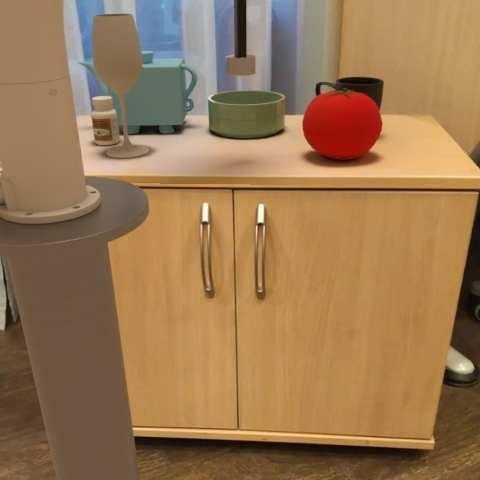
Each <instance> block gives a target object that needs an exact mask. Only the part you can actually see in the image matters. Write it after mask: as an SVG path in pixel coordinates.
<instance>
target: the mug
mask: <svg viewBox="0 0 480 480" xmlns="http://www.w3.org/2000/svg"><path fill="white" fill-rule="evenodd" d="M384 81H385V80H383V79H381V78H377V77H371V76H370V77H369V76H345V77H340V78H338V79H335V83H334V82H330V81H319V82H317V83H316V84H315V89H314V91H315V97H317V96H318V95H320V94H322V91H321V87H322V85H323V86H328V87H330V88H332V89H334V91H335V90H337V91H343V88H347V90H353V92H358V93H364V95H366V96H368V97H370V98H371V99H372V100H373V101H374V102H375V103H376V105H377V107H378V109H379V112H380V113H381V107H382V102H383V95H384V87H385V82H384ZM369 94H370V95H369Z"/></svg>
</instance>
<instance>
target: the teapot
mask: <svg viewBox="0 0 480 480" xmlns="http://www.w3.org/2000/svg"><path fill="white" fill-rule="evenodd" d="M141 53H142V72H141V76H140V78H139V79H138V81H137V83H136V84H135V85H134V86H133V87H132V89H131V90H130V91H129V92H128V93H127V94H126V97H125V109H126V119H127V128H128V135H133V134H138V133H140V129H141V126H158V130H159V133H161V134H173V133H175V129H174V127H173V126H182V125H183V124H184V121H185V120H186V116H187V114H188V113H189V112H191V111H192V110H193V109H194V107H195V103H194V101H193V99H191V98H190V95H191V94H192V92H193V91H194V89H195V87H196V85H197V82H198V74H197V71H196V70H195V69H194V67H192V66H191V65H190V64H187V63H185V57H176V58H174V57H173V58H154V55H155V52H154V51H153V50H141ZM77 64H79V65H81V66H83V67H84V68H86V69H87V70H88V71H89V72H90V74H91V75H92V77H93V79H94V81H95V85H96V87H97V90H98V92H99V94H100V96H111V97H112V100H113V106H112V109H114V110H115V111H116V112H117V120H118V127H120V126H121V127H123V123H122V114H121V104H120V100H119V97H118V96H117V94H116V93H114V92H113V91H112V90H111V89H109V88H108V87H107V86H106V85H105V84H104V83H103V82H102V81H101V80H100V79H99V77H98V75H97V73H96V71H95V67H94V62H93V61H78V62H77ZM186 71H187V72H189V73H190V74H191V81H190V84H189V85H188V87H187V81H186ZM188 104H189V105H188Z"/></svg>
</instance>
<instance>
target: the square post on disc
mask: <svg viewBox="0 0 480 480" xmlns="http://www.w3.org/2000/svg"><path fill="white" fill-rule="evenodd" d="M247 18H248V17H247V0H233V33H234V35H233V36H234V37H233V38H234V39H233V40H234V42H233V46H234V47H233V48H234V50H233V51H234V54H229V55H225V74H226V75H229V76H235V77H241V76H242V77H243V76H244V77H245V76H252V75H253V76H254V75H255V74H256V65H257V63H256V58H257V57H256V55H253V54H247V52H248V51H247V48H248V47H247V35H248V34H247V31H248V30H247V27H248V25H247V21H248V20H247Z"/></svg>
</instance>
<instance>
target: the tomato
mask: <svg viewBox="0 0 480 480" xmlns="http://www.w3.org/2000/svg"><path fill="white" fill-rule="evenodd" d="M369 95H370V94H369ZM301 123H302V132H303V136H304V138H305V140H306V142H307V144H308V145H309V146H310V148H312V149H313V150H314V151H315V152H316V153H318V154H319V155H321V156H324V157H326V158H330V159H335V160H341V161H342V160H343V161H347V160H352V159H356V158H359V157H362V156H363V155H365V154H367V153H368V152H369V151H371V149H372V148H373V147H374V146H375V144H376V143H377V141H378V140H379V138H380V136H381V133H382V131H383V120H382V115H381V111H380V112H379V109H378V107H377V105H376V103H375V102H374V101H373V100H372V99H371V98H370V97H368V96H366V95H364V93H358V92H353V90H347V88H343V91H337V90H335V89H334V90H331V91H327V92H323V93H322V92H321V94H320V95H318V96H317V97H316V96H315V97H313V98H312V100H311V101H310V102H309V104H307V107H306V109H305V111H304V114H303V118H302V121H301Z"/></svg>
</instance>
